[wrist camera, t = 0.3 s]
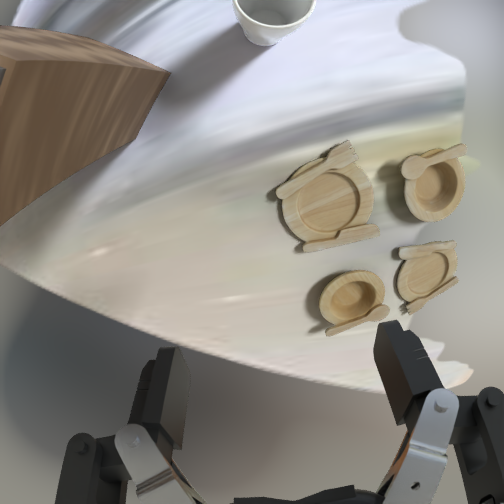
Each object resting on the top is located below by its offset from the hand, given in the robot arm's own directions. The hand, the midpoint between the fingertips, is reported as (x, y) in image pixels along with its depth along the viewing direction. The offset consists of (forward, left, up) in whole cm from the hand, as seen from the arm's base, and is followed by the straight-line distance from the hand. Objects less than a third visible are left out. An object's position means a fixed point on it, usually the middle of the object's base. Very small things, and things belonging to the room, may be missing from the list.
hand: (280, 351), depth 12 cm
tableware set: (+11, +21, -32) cm, 40 cm away
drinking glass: (-18, 0, -32) cm, 36 cm away
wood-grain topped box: (-11, -20, -32) cm, 39 cm away
